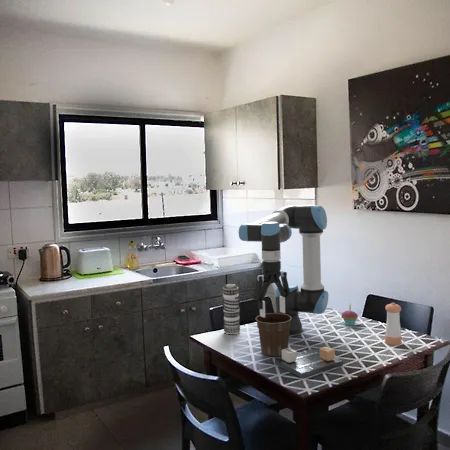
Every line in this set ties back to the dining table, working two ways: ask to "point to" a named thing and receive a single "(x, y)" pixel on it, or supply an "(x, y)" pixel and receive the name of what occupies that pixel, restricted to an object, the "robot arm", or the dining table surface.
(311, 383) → the dining table surface
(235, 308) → the decorative candle
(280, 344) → the plant pot
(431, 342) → the dining table surface
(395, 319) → the pepper shaker
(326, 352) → the fader
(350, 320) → the cupcake
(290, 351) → the fader
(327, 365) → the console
